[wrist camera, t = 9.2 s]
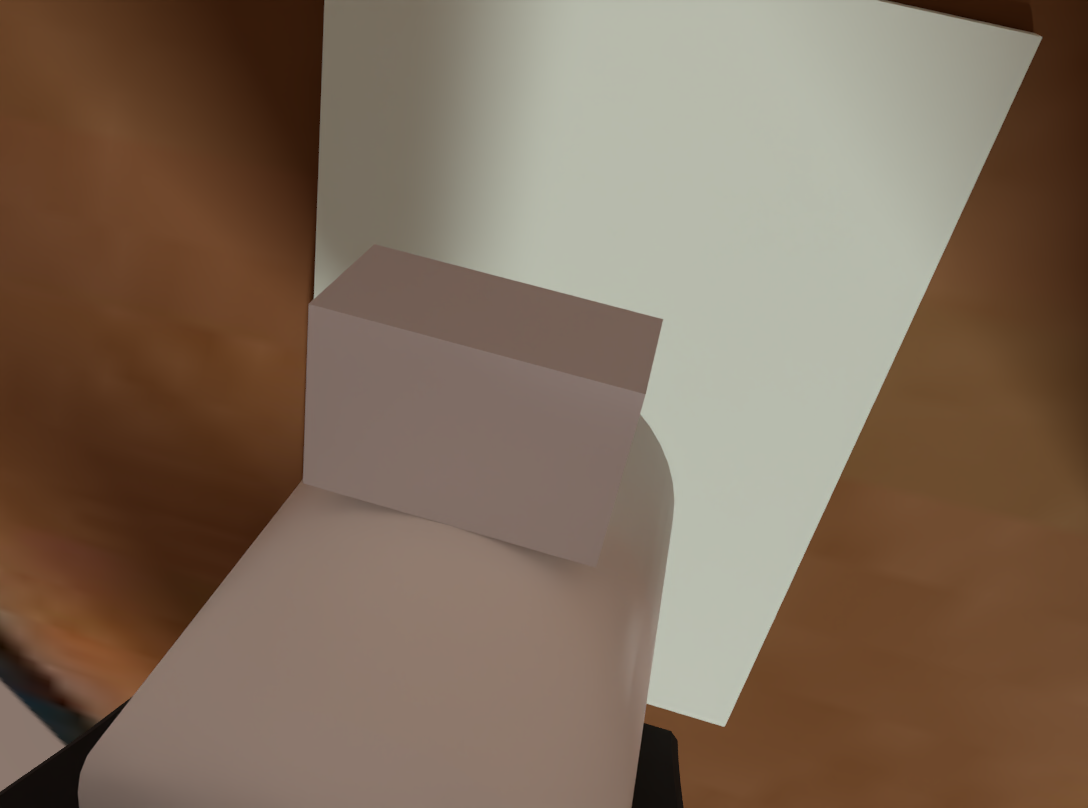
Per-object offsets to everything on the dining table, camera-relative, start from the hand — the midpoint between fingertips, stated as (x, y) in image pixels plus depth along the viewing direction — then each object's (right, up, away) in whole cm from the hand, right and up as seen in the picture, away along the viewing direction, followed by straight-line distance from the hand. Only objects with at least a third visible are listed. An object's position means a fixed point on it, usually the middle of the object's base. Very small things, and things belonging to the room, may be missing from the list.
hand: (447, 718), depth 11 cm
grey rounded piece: (0, +1, +1) cm, 1 cm away
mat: (+2, +4, +7) cm, 8 cm away
